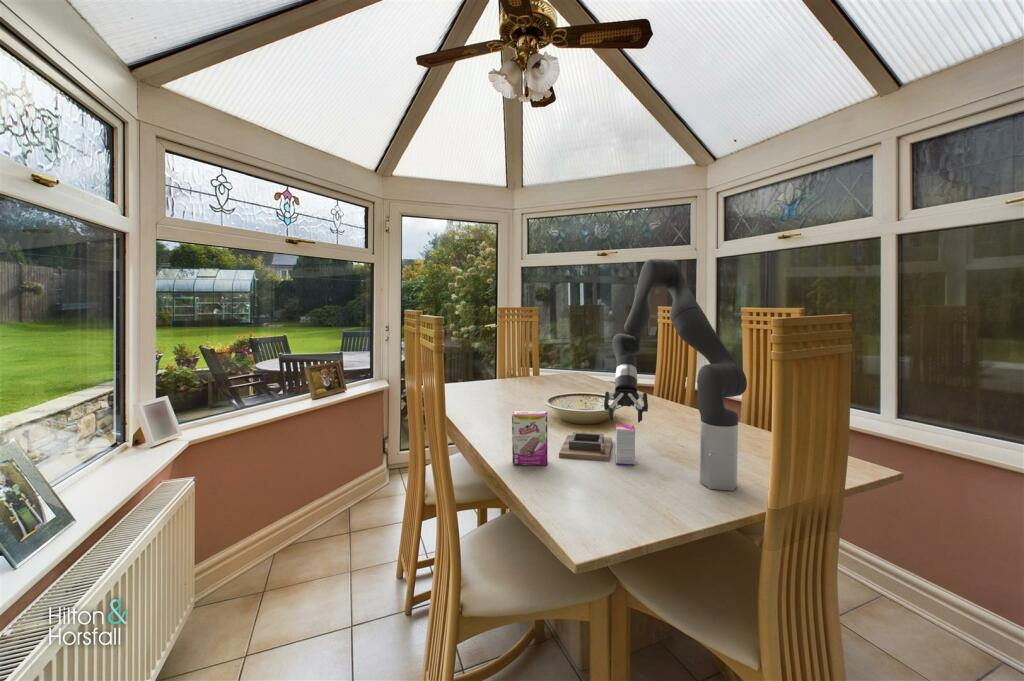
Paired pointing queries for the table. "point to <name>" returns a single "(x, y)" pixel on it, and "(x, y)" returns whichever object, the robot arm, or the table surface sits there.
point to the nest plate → (586, 446)
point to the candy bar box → (530, 437)
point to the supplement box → (625, 445)
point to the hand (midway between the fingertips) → (625, 420)
